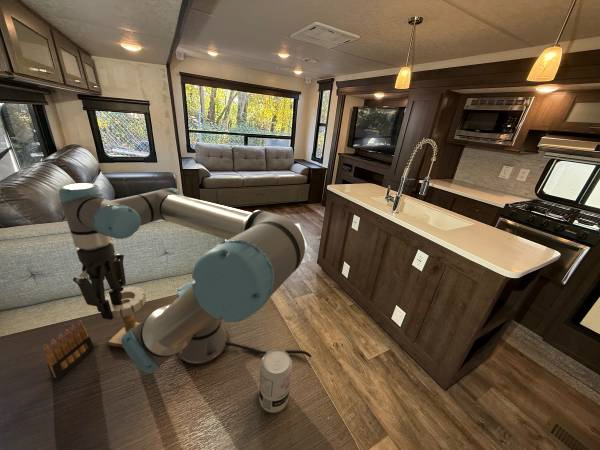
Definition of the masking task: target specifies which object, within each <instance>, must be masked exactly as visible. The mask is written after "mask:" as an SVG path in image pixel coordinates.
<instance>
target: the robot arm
mask: <svg viewBox="0 0 600 450" xmlns="http://www.w3.org/2000/svg"><path fill="white" fill-rule="evenodd" d="M58 194H59V199H60V205H61V206H62V209H63V213H64V216H65V219H66V222H67V225H68V228H69V231H70V235H71V238H72V242H73V244H74V247H75V251H76V254H77V258H78V260H79V262H80V263H81V265H82V268H81V273H80V274H79V275H78V276H74V277H73V278H72V281H73V282H74V283H75V284H76V285H77V286H78V288H79V290H80V293H81V295H82V297H83V299H84V301H85V303H86V305H88V306H92V307H96V309H97V312H98V313H100V315H101V318H102V319H104V320H109V321H112V320H113V319H114V318H113V315H112V311H111V308H110V304H109V300H105V296H106V293H105V283H104V281H105V280H106V282H107V285H108V286H109V288H110V290H109V291H108V294H109V295H110V299H111V302H112V304H114V305H122V300H121V298H122V294H121V291H123V290H124V287H123V286H126V283H127V281H126V274H125V267H124V258H125V255H124V254H121V253H116V250H115V245H114V242H113V239H118V240H124V239H128V238H130V237H133V235H134V234H135V233H136V232H138V230H140V227H141V226H145V225H147V224H151V223H154V222H156V221H159V220H160V221H161V220H162V221H165V222H169V223H172V224H174V225H178V226H181V227H184V228H188V229H191V230H194V231H198V232H201V233H203V234H206V235H210V236H214V237H217V238H220V239H222V240H225V241H222V242H220V243H218V244H216V245H214V246H212V247H211V248H209V249H208V250H207V251H206V252H205V253H203V254H202V255H201V256H200V257H199V258H198V259H197V261H196V263H195V264H194V267H193V269H192V273H191V279H193V281H191V282H187V283H184V284H182V285H181V286H180V287H179V288H178V289H177V293H176V296H175V297H176V299H175V300H173V301H172V302H170V303H168V304H167V305H165V306H162V307H159V308H157V309H156V310H154V311H153V312H151V313H150V314H149V315H148V316H147V317H146V318H145V319H144V320H142V321H141V322H139V323H140V324H139V325H137V326H136V327H134V328H133V329H130V330H129V331H128V332H127V333H126V334H124V335H123V336H122V340H121V341H122V345H123V347H124V348H123V350H124V351H125V353H126V354H127V356H128V357H129V359H130V360H131V362H132V363H133V364H134V365H135V366H136V367H137V368H138V369H139V370H140V371H141V372H142V373H144V374H146V375H151V374H153V373H155V371H156V370H159V369H160V368H161V366H162V365H163V364H165V363H166V362H167V361H168V360H169V359H170V358H172V357H173V356H175V355H177V354H178V357H179V359H180V360H181V361H182V362H183V363H184V364H186V365H190V366H203V365H206V364H209V363H211V362H213V361H215V360H216V359H218V358H219V357H220V356H221V355H222V354H223V353H224V352H225V350H226V349H227V346H231V347H235V348H239V349H243V350H247V351H249V352H252V353H253V352H254V353H256V354H259V355H265V354H266V353H267V352H268V351H266V350H265V351H264V350H261V349H256V348H253V347H250V346H248V345H247V346H246V345H244V344H243V345H242V344H239V343H234V342H231V341H228V334H227V330H226V329H225V327H224V326H223V323H222V320H223V321H224V322H227V323H238V322H242V321H244V320H246V319H248V318H250V317H251V316H252V315H254V314H256V313H257V312H258V311H260V310H261V309H262V308H263V307H264V306H265V305H266V303H267V302H268V301H269V299H270V298H271V297H272V296H273V295H274V294H275V293H276V292H277V290H278V289H279V288H280V287H282V285H283V284H284V283H285V282H286V281H287V280H288V279H289V278H290V276H291V275H292V274H293V273H294V272H296V271H297V269H298V268H299V267H300V265H302V262H303V260H304V257H305V254H306V243H305V239H304V235H303V233H302V231H301V230H300V228H299V227H298V226H297V225H296V223H295V222H293V221H292V220H291V219H289V218H287V217H285V216H283V215H280V214H278V213H274V212H271V211H270V212H269V211H266V210H261V209H257V210H254V211H253V212H251V211H246V210H242V209H238V208H234V207H229V206H225V205H221V204H217V203H213V202H209V201H205V200H201V199H197V198H193V197H188V196H185V195H184V194H183V193H182V192H181V191H180V190H179V189H178V188H175V187H170V188H161V189H158V190H154V191H149V192H145V193H141V194H137V195H131V196H126V197H121V198H117V199H112V200H109V199H106V198H104V197H103V193H102V190H101V189H100V187H99V186H98V185H97V184H95V183H90V182H89V183H87V182H86V183H85V182H80V183H72V184H66V185H64V186H61V187H60V188H59V190H58ZM283 350H284V349H283ZM284 351H285V352H286V353H288V354H302V355H306V356H307V357H308V358H312V356H313V355H311V353H309V352H308V351H306V350H302V349H286V350H284Z"/></svg>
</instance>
